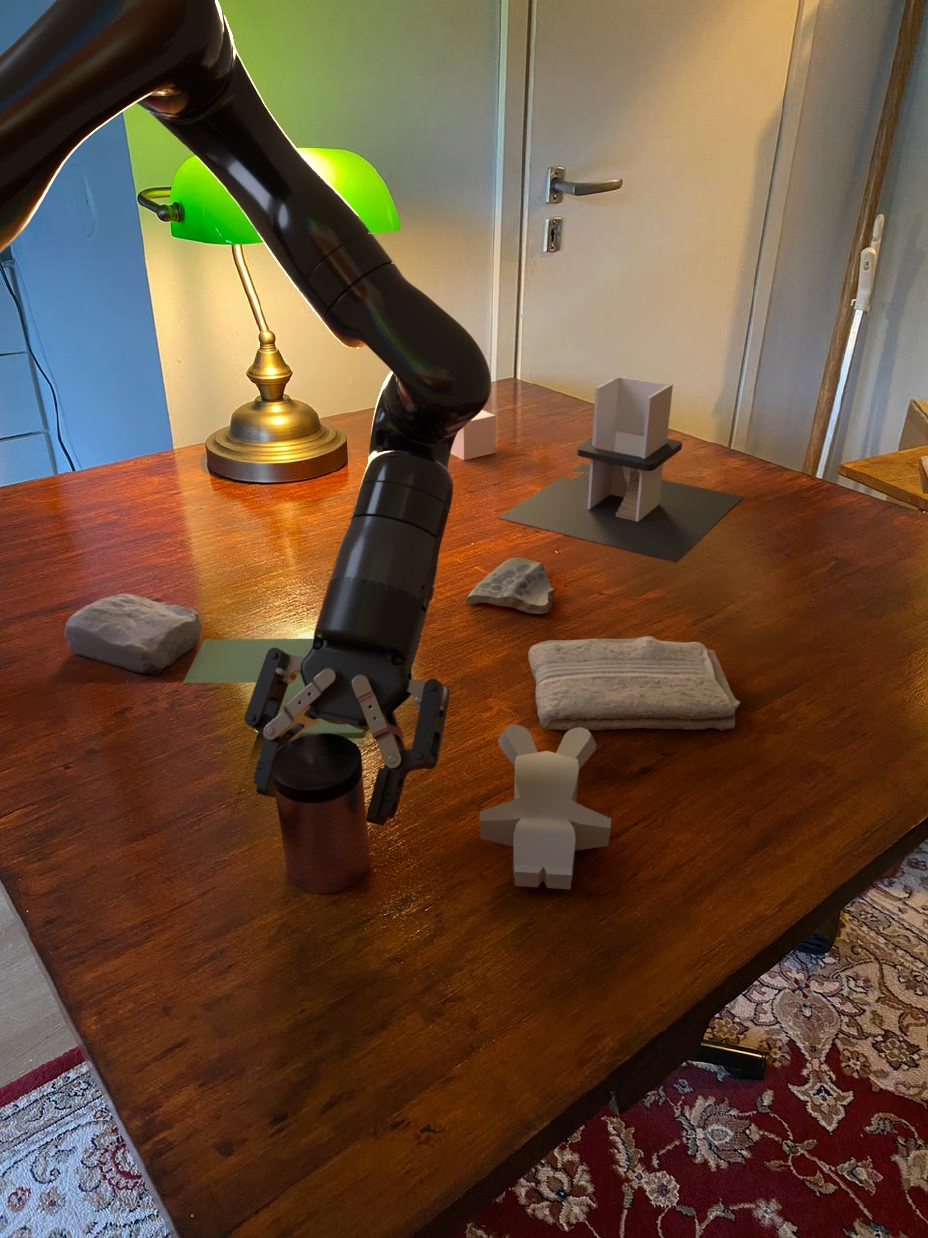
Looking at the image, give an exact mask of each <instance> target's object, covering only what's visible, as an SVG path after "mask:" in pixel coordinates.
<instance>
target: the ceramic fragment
mask: <svg viewBox="0 0 928 1238" xmlns="http://www.w3.org/2000/svg"><path fill="white" fill-rule="evenodd" d="M554 593H555V590H554V588H553V587H552V586H551V584H550V580H549V577H548V574H547V571H546V569H545V567H544V565H543V563H542V562H541V561H534V560H530V559H528V558H526V557H523V556H520V557H519V556H517V557H510V558H507V559H506V560H505V561H503V562H501V564H499V565H498V566H497V567H495V569H493V570H492V571H490V573H488V574H487V575H486V576H485V577H484V578H483V579H482V580H481V581H479V582H478V583H477V584H476V585H475V587H473V589H472V590H471V591H470V592H469V594H468V595H467V597H466V598H465V604H467V605H470V606H471V605H476V604H479V603H480V604H482V603H483V604H490V605H493V606H498V607H509V608H514V609H516V610H519V611H521V612H525V613H528V614H533V615H542V614H548V613H549V612H551V611H552V606H553V602H554V599H555V594H554Z"/></svg>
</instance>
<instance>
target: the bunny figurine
mask: <svg viewBox="0 0 928 1238" xmlns="http://www.w3.org/2000/svg"><path fill="white" fill-rule="evenodd" d="M497 742H498V747H499V748H500V750H502V752H503V753H504V754H505V756H506V758H507V759H508V760H509V762H510V763H511V764H512V765H513V767H514V782H513V783H514V784H513V785H514V787H513V789H514V790H513V795H514V796H513V798H514V799H512V800H510V801H506V802H504V803H500V804H497V805H494V806H492V807H488V808H485V809H483V810H480V811H479V839H481V840H485V841H489V842H493V843H497V844H501V845H504V846H508V847H513V848H512V849H513V850H512V872H513V873H512V874H513V878H514V887H529V888H538V887H539V886H540V885H541V883H542V882H543V883H544V885H545V886H546V888H547V889H559V890H572V881H573V876H574V866H575V852H576V851H581V850H589V849H595V848H601V847H602V848H604V847H609V846H610V836H611V827H612V817H611V818H610V817H609V816H606V815H604V814H602V813H600V812H597V811H595V810H593V809H590V808H589V807H586V806H584V805H582V804H580V803H577V798H578V797H577V796H578V783H579V770H580V769H581V768H582V767H583V766H584V764H585V763H586V762H587V761H588V760H589V758H590V757H591V756H592V755H593V754H594V753H595V752H596V749H597V743H596V741H595V739H594V737H593V735H592V733H591V732H590V730H588V729H585V728H581V727H579V728H574V729H571V730H569V731H566V732H565V733H564V735H563V737H562V739H561V742H560V744H559V745H558V748H557V750H556V752H554V751H548V750H544V751H538V749H537V747H536V744H535V741H534V739H533V736H532V734H531V732H530V731H529V729H527V727H525V726H522V725H520V724H516V723H514V724H508V725H507V726H506V727H505V728H504V729H503V731H502V733H501V734H500V736H499V737H498V740H497Z"/></svg>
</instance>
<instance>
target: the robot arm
mask: <svg viewBox="0 0 928 1238" xmlns="http://www.w3.org/2000/svg"><path fill="white" fill-rule="evenodd" d="M134 104H137V106H138V105H139V106H140V107H141V108H143V109H144V110H146V111H147V112H148V113H149V114H150V115H151V116H152V117H154V118H155V119H156V120H157V121H158V122H159V123H160V124H161V125H162V126H163V127H164V128H165V129H166V130H168V132H170V133H171V134H172V135H173V136H174V137H175V138H176V139H177V140H178V141H179V142H180V143H182V144H183V145H184V146H185V148H187V149H188V150H189V151H190V152H191V153H192V154H193V155H194V156H195V157H196V158H197V159H198V160H199V161H200V162H201V163H202V164H203V165H204V166H205V167H206V168H207V170H208V171H209V172H210V173H211V174H212V176H214V178H216V179H217V181H218V182H219V183H220V185H222V186H223V187H224V189H225V190H226V192H227V193H228V194H229V195H230V197H231V198H232V199H233V201H235V203H236V204H237V206H238V207H239V208H240V210H241V211H242V212H243V213H244V215H245V217H246V218H247V219H248V221H249V223H250V224H251V225H252V226H253V228H254V230H255V232H256V233H257V234H258V236H259V237H260V239H261V240H262V241H263V243H264V245H265V246H266V248H267V249H268V251H269V252H270V254H271V255H272V256H273V258H274V259H275V261H276V262H277V264H278V265H279V267H280V268H281V269H282V270H283V272H284V273H285V275H286V276H287V277H288V279H289V280H290V282H291V283H292V284H293V286H294V287H295V288H296V289H297V291H298V292H299V294H301V296H302V297H303V298H304V301H306V303H307V304H308V305H309V306H310V307H311V309H312V311H313V312H314V313H315V314H316V315H317V317H318V318H319V319H320V321H321V322H323V324H324V325H325V327H326V328H327V329H328V331H329V332H330V333H331V334H332V335H333V337H335V339H336V340H338V341H339V342H340V343H341V344H342V345H343V346H345V347H347V348H351V349H359V348H363V347H367V348H368V349H369V350H370V351H371V352H372V353H373V354H374V355H376V357H377V358H379V359H380V360H381V361H382V362H383V363H384V364H385V365H386V367H388V369H389V370H390V373H389V374H388V375H387V377H386V379H385V381H384V382H383V384H382V387H381V390H380V393H379V396H378V399H377V402H376V405H375V409H374V414H373V419H372V424H371V431H370V438H369V444H368V455H367V464H366V467H365V471H364V473H363V475H362V477H361V482H360V484H359V488H358V490H357V494H356V498H355V501H354V505H353V509H352V511H351V516H350V519H349V521H348V525H347V528H346V530H345V533H344V534H343V537H342V539H341V541H340V544H339V546H338V549H337V551H336V555H335V558H334V562H333V566H332V569H331V573H330V576H329V580H328V583H327V587H326V590H325V593H324V597H323V601H322V604H321V608H320V611H319V615H318V617H317V621H316V625H315V627H314V632H313V639H314V640H313V646H312V648H311V650H310V652H309V653H308V654H307V655H306V657H305V658H301V657H297V656H293V655H290V654H288V653H286V652H284V651H282V650H281V649H279V648H276V647H274V648H271V649H270V650H269V651H268V652H267V655H266V657H265V660H264V663H263V666H262V669H261V671H260V674H259V677H258V680H257V682H255V685H254V688H253V691H252V694H251V697H250V700H249V702H248V705H247V708H246V711H245V714H244V716H243V720H244V724H245V725H247V726H249V727H251V728H252V729H254V730H255V731H257V732H259V733H261V735H262V736H263V738H262V740H263V741H262V746H261V749H260V753H259V756H258V760H257V763H256V767H255V770H254V773H253V784H254V785H256V793H257V794H258V795H261V796H266V797H270V798H275V799H276V794H275V787H274V784H273V779H272V772H271V762H272V759H273V757H274V755H275V754H276V752H277V751H278V750H279V749H280V748H281V747H282V746H284V745H285V744H286V743H288V742H290V741H292V740H294V739H296V738H299V737H298V736H299V735H300V734H301V733H302V732H303V731H304V730H306V729H307V728H310V727H312V726H314V725H315V724H317V723H318V722H319V721H320V720H321V719H323V720H325V721H327V722H329V723H334V724H338V725H340V724H349V725H351V726H353V727H355V728H357V729H361V730H365V731H366V732H368V731H370V734H371V736H372V737H373V739H374V740H375V742H376V745H377V747H378V749H379V752H380V755H381V757H382V759H383V763H384V765H383V768H382V767H378V769H377V774H376V777H375V782H374V785H373V789H372V793H371V798H370V801H369V803H368V808H367V812H366V821H367V823H370V824H372V825H373V824H374V825H377V826H382V827H383V826H385V824H386V823H387V821H388V819H393V818H394V817H395V815H396V814H397V812H398V808H399V804H400V800H401V796H402V792H403V788H404V786H405V785H404V784H405V780H406V778H407V776H408V774H410V773H411V772H412V771H419V770H425V769H426V770H432V769H434V768H435V767H436V766H437V765H438V762H439V755H440V750H441V746H442V740H443V735H444V729H445V725H446V724H445V723H446V718H447V714H448V713H447V712H448V707H449V704H450V703H449V702H450V698H451V692H450V689H449V688H448V687H447V686H446V685H445V684H444V683H443V682H441V681H439V680H438V679H436V678H430V679H427V680H426V681H425V680H418V679H413V677H412V670H413V669H412V668H413V665H414V662H415V660H416V656H417V652H418V648H419V644H420V642H421V641H420V640H421V636H422V634H423V633H422V632H423V629H424V626H425V621H426V618H427V614H428V610H429V606H430V603H431V601H432V600H433V598H434V597H433V596H434V592H435V588H434V587H435V583H436V578H437V573H438V566H439V558H440V557H439V556H440V550H441V546H442V542H443V538H444V534H445V530H446V526H447V522H448V519H449V514H450V512H451V507H452V502H453V496H454V480H453V477H452V475H451V473H450V471H449V470H448V469H449V464H450V463H449V462H450V457H451V454H450V453H451V449H452V446H453V443H454V440H455V437H456V435H457V433H458V431H459V430H461V429H462V428H463V427H464V426H465V425H466V424H467V423H469V422H470V421H471V420H472V419H473V418H474V417H476V416H477V415H478V414H479V413H480V412H481V411H482V410H484V408H485V406H486V405H487V403H488V401H489V399H490V397H491V393H492V375H491V370H490V367H489V364H488V362H487V359H486V356H485V354H484V353H483V351H482V349H481V347H480V345H479V344H478V343H477V341H476V340H475V339H474V337H473V336H472V334H470V332H468V330H467V329H466V328H465V327H464V326H462V324H460V323H459V322H458V321H457V320H456V319H455V318H454V317H453V316H452V315H450V314H449V313H448V312H447V311H445V310H444V309H443V308H442V307H441V306H440V305H438V304H437V303H436V302H435V301H434V300H433V299H431V297H429V296H428V295H427V294H426V293H424V292H423V291H422V290H420V289H419V288H418V287H416V286H415V285H414V284H412V283H411V282H410V281H409V280H408V279H407V278H406V277H404V275H403V273H402V271H401V270H400V269H399V268H398V266H397V265H396V264H395V263H394V261H393V259H392V258H391V257H390V255H389V254H388V253H387V251H386V250H385V248H384V247H383V246H382V244H380V242H379V241H378V239H377V238H376V237H375V236H374V234H373V233H372V232H371V230H370V229H369V228H368V226H367V225H366V224H365V222H364V221H363V220H362V219H361V217H360V216H359V215H358V213H357V212H356V211H355V210H354V209H353V208H352V207H351V205H350V204H349V203H348V202H347V201H346V199H344V197H343V196H342V195H341V194H340V193H339V192H338V191H337V190H336V189H335V188H334V187H333V186H332V185H331V184H330V182H329V181H327V180H326V179H325V177H324V176H322V174H320V172H319V171H318V170H317V169H316V168H315V167H314V166H313V165H312V164H311V163H310V162H309V161H308V160H307V158H305V156H304V155H303V154H302V153H301V152H300V150H298V148H296V146H295V145H294V144H293V143H292V141H291V140H290V138H289V137H288V136H287V134H285V132H284V131H283V129H282V128H281V126H280V125H279V123H278V122H277V121H276V119H275V118H274V116H273V115H272V114H271V112H270V111H269V108H268V107H267V105H266V104H265V102H264V100H263V99H262V96H261V95H260V93H259V91H258V89H257V88H256V85H255V84H254V82H253V80H252V78H251V77H250V74H249V72H248V71H247V69H246V67H245V65H244V63H243V61H242V59H241V57H240V56H239V54H238V52H237V49H236V47H235V43H234V39H233V34H232V31H231V29H230V26H229V24H228V21H227V18H226V15H225V14H224V12H223V8H221V5H220V3H219V0H55V1H54V2H53V3H52V4H51V5H50V6H49V7H48V8H46V10H45V11H44V12H43V13H42V14H41V15H40V16H39V18H37V19H36V21H34V23H32V24H31V25H30V27H29V28H28V29H26V31H25V32H24V33H22V35H20V36H19V37H18V39H17V40H15V42H13V43H12V44H10V46H9V47H7V48H6V50H5V51H4V52H2V53H1V54H0V254H1V253H3V251H5V250H6V249H7V248H8V247H9V246H10V245H11V244H12V243H14V242H15V240H17V238H18V237H19V236H20V235H21V234H22V233H23V232H24V230H25V229H26V228H27V226H28V224H29V223H30V221H31V220H32V218H33V217H34V215H35V214H36V212H37V210H38V208H39V207H40V206H41V204H42V202H43V200H44V199H45V197H46V195H47V193H48V191H49V189H50V187H51V185H52V183H53V182H54V180H55V178H56V176H57V175H58V174H59V172H60V171H61V169H62V168H63V165H64V164H65V162H66V161H67V160H68V159H69V158H70V156H71V155H72V154H73V152H74V151H75V150H76V149H77V148H78V147H79V146H80V145H81V144H82V143H83V142H84V141H85V140H86V139H88V138H89V136H91V135H93V133H94V132H96V131H97V130H98V129H100V128H101V127H102V126H104V125H105V124H107V123H108V122H109V121H111V120H112V119H114V118H115V117H116V116H118V115H119V114H120V113H122V112H123V111H125V110H126V109H128V108H129V107H131V106H133V105H134ZM300 673H301V677H302V680H303V683H304V686H305V688H304V689H303V690H302V691H301V692H300V693H298V694H297V695H296V696H295V697H294V698H293V699H291V700H290V701H289V702H288V703H287V704H286V705H285V706H284V710H283V711H282V712H281V713H280V714H279V715H278V712H279V710H280V707H281V704H282V701H283V698H284V695H285V692H286V690H287V687H288V684H290V683H292V682H293V681H294V680H295V679H296V677H297V675H298V674H300ZM411 696H412V697H413V705H414V708H415V709H417V710H418V714H417V721H416V726H415V730H414V736H413V741H412V746H411V748H410V749H408V748H407V745H406V744H405V741H404V734H403V732H402V731H403V730H402V729H401V727H400V724H399V721H398V719H397V716H396V714H395V711H396V710H398V708H399V707H400V706H402V704H404V703H405V702H406V701H407V700H408V699H409V698H410V697H411ZM277 715H278V716H277Z"/></svg>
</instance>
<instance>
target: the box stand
mask: <svg viewBox="0 0 928 1238" xmlns="http://www.w3.org/2000/svg"><path fill="white" fill-rule="evenodd" d="M673 386H674V384H670V383H665V382H659V381H652V380H647V379H646V380H645V379H639V378H634V377H633V378H631V377H626V376H620V375H617V376H615V377H613V378H611V379H609V380H607V381H605V382H603V383H601V384H599V385H598V386H595V394H594V406H593V407H594V408H593V409H594V410H593V411H594V412H593V424H592V427H593V428H592V436H591V437H590V438H588V439H586V440H585V441H582V442H581V443H579V445H578V446H577V448H576V455H577V457H579V458H581V457H582V458H586V459H589V460H590V462H589V463H590V464H587V463H580V464H579V465H577V466H575V467H574V468H575V469H574V468H573V469H571V470H569V471H568V472H584V474H585V475H584V474H581V476H577V477H576V478H574V479H571V478H568V479H571V480H570V481H567V480H568V479H564V478H565V477H567V476H566V475H565V474H563V475H564V476H565V477H563V475H561V476H560V477H561V478H560V477H559V478H557V479H556V480H554V481H552V482H553V483H552V482H550V483H549V484H548V485H546V486H544V487H543V488H542V489H540V490H537V492H535V493H533V494H532V495H530V496H529V497H527V498H526V499H524V500H523V501H520V503H518V504H516V505H515V506H513V507H511V508H510V509H509V510H508V511H506V512H504V513H502V514H501V515H499V516H498V517H497V519H501V520H506V521H510V522H514V523H517V524H522V525H526V526H529V527H534V528H538V529H542V530H544V531H545V530H546V531H550V532H554V533H557V534H561V535H565V536H570V537H574V538H578V539H582V540H586V541H589V542H594V543H596V544H597V543H598V544H602V545H606V546H610V547H613V548H617V549H618V548H619V549H622V550H626V551H630V552H634V553H638V554H642V555H646V556H650V557H654V558H658V559H661V560H666V561H670V562H674V563H678V561H679V560H680V559H681V558H682V557H683V556H684V555H685V554H686V553H687V552H688V551H689V550H690V549H691V548H692V547H693V546H695V544H696V543H697V542H699V540H701V538H703V537H704V536H705V535H706V534H707V533H708V532H709V531H710V530H711V529H712V528H713V527H714V526H715V525H716V524H717V523H718V522H719V521H720V520H721V519H722V518H723V517H724V516H725V515H726V514H727V513H728V512H729V511H730V510H731V509H732V508H733V507H735V506H736V504H738V503H739V502H740V501H741V499H743V498H744V496H743V495H739V494H738V495H737V494H734V493H729V492H724V491H718V490H714V489H709V488H703V487H699V486H694V485H689V484H684V483H679V482H676V481H669V480H665V479H663V471H664V463H666V462H667V461H668V460H669V459H671V458H673V456H675V455H677V454H678V453H679V452H680V451H682V448H683V442H682V441H681V440H676V439H671V438H668V435H669V428H670V427H669V426H670V415H671V407H672V398H673V388H674V387H673ZM580 466H581V467H580ZM572 470H574V471H572ZM586 472H589V473H586ZM576 475H577V474H576ZM582 476H583V477H582ZM571 477H575V476H571ZM579 478H580V479H579ZM561 479H562V480H561ZM575 480H576V481H575Z"/></svg>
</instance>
